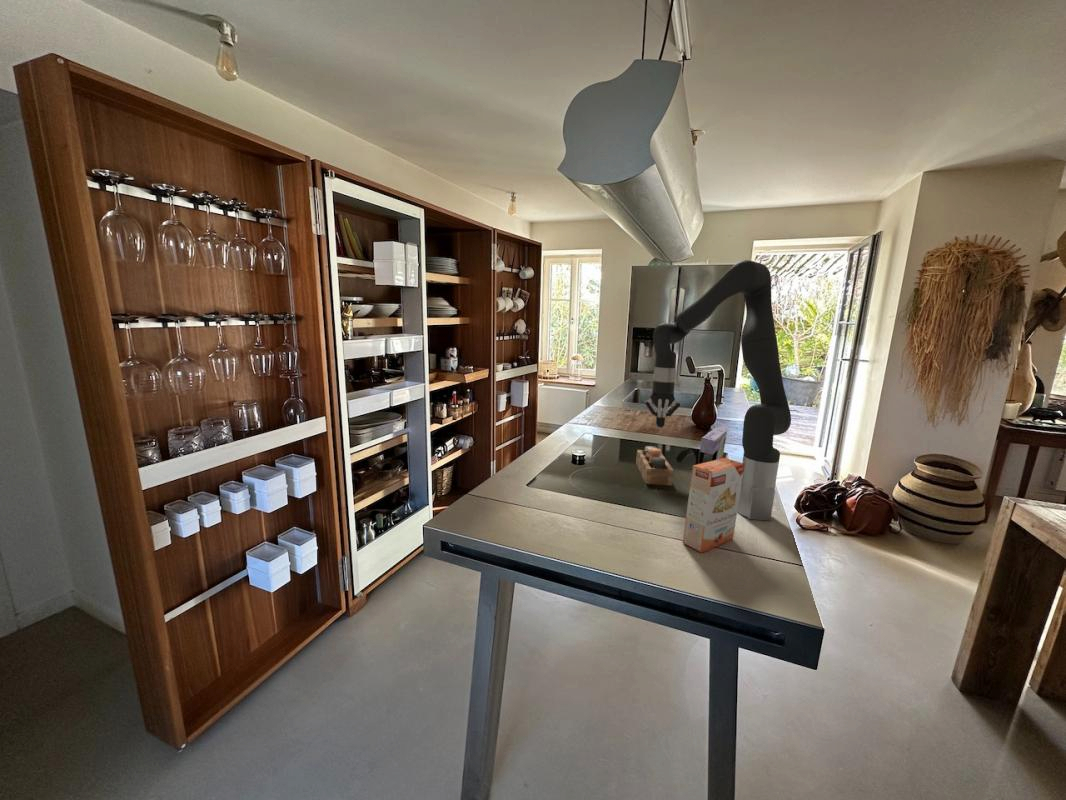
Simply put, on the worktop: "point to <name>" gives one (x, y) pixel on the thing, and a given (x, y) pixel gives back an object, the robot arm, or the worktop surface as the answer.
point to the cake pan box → (712, 446)
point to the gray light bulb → (658, 462)
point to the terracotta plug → (654, 453)
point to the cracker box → (713, 503)
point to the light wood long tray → (654, 470)
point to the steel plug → (648, 450)
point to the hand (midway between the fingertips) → (659, 427)
